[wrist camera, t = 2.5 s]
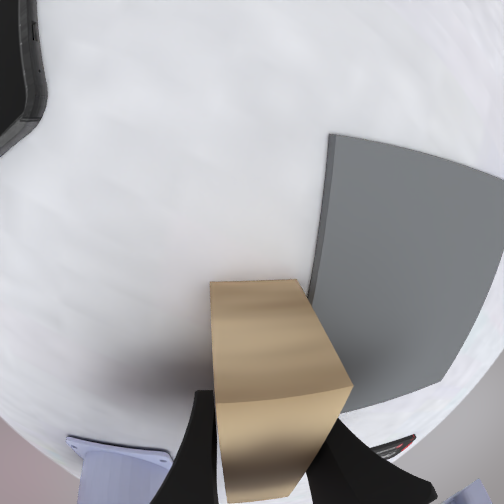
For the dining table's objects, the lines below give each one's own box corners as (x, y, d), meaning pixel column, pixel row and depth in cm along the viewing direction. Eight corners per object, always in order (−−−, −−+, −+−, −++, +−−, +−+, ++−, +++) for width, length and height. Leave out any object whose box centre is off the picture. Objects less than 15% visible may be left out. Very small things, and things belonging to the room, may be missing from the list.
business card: (420, 434, 20) (396, 456, 22) (418, 430, 21) (393, 452, 23) (352, 455, 18) (328, 475, 20) (350, 450, 19) (327, 470, 21)
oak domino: (270, 423, 14) (288, 496, 9) (219, 427, 13) (227, 503, 9) (295, 277, 10) (353, 385, 5) (209, 279, 9) (215, 403, 5)
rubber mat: (437, 376, 15) (441, 380, 15) (281, 417, 13) (283, 423, 13) (512, 184, 9) (518, 186, 9) (329, 134, 8) (336, 134, 7)
